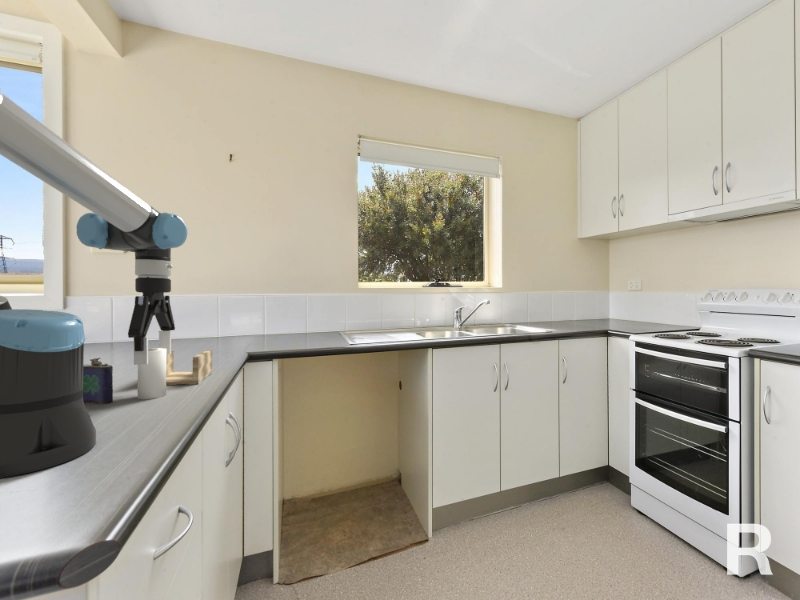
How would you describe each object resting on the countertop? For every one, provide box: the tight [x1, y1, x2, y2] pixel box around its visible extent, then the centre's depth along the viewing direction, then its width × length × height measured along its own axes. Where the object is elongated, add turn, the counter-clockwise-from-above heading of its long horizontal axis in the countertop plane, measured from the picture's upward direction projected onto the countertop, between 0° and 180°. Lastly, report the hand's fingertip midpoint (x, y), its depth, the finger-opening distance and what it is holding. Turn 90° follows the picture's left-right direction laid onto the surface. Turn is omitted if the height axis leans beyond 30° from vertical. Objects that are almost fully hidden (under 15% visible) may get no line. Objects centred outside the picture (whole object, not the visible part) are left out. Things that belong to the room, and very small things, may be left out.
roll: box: [137, 347, 167, 400], centre depth 90 cm, size 6×6×12 cm
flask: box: [83, 357, 114, 405], centre depth 84 cm, size 9×3×11 cm, turn 83°
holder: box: [166, 349, 213, 386], centre depth 107 cm, size 14×13×8 cm
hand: (153, 358), depth 90 cm, fingers open, 13 cm apart
